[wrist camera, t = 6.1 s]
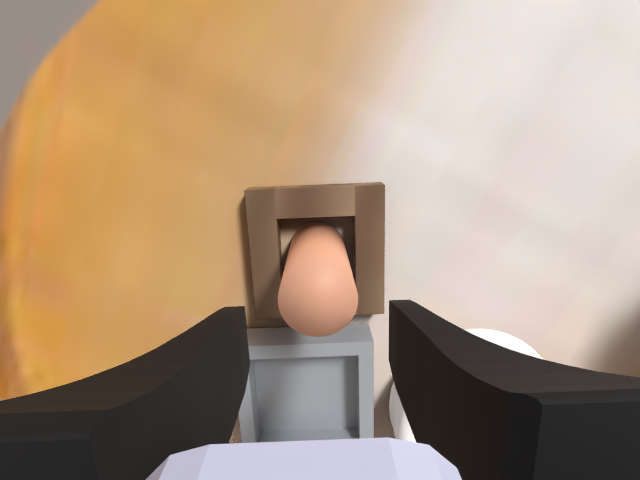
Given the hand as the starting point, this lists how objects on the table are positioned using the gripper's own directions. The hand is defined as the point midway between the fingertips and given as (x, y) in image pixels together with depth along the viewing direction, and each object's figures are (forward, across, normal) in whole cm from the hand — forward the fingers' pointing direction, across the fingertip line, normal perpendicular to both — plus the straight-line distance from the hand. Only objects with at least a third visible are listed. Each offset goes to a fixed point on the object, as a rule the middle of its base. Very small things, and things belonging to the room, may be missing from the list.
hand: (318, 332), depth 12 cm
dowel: (+9, 0, 0) cm, 9 cm away
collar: (+9, 0, 0) cm, 9 cm away
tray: (+9, +1, +8) cm, 13 cm away
